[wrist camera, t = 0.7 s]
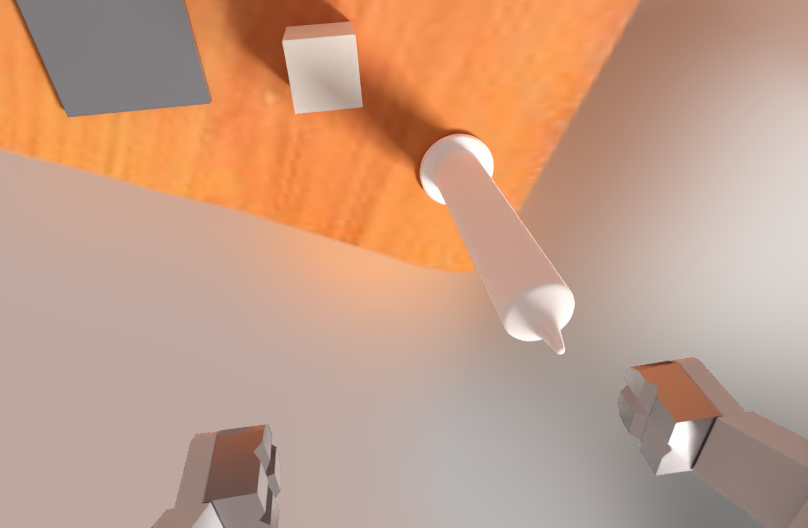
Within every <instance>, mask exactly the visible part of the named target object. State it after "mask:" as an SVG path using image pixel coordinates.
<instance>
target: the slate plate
mask: <svg viewBox="0 0 808 528" xmlns="http://www.w3.org/2000/svg"><path fill="white" fill-rule="evenodd" d="M16 1H17V4H18V6H19V8H20V10H21V13H22V15H23V17H24V19H25V22H26V24H27V26H28V28H29V31H30V33H31V35H32V37H33V40H34V42H35V44H36V46H37V49H38V51H39V53H40V55H41V58H42V60H43V62H44V64H45V67H46V69H47V71H48V73H49V76H50V78H51V80H52V82H53V85H54V87H55V89H56V91H57V94H58V96H59V98H60V100H61V103H62V105H63V107H64V109H65V112H66V114H67V116H68V117H75V116H85V115H96V114H106V113H116V112H127V111H137V110H147V109H158V108H168V107H178V106H189V105H199V104H209V103H211V102H212V98H211V95H210V91H209V87H208V84H207V80H206V76H205V73H204V69H203V65H202V62H201V58H200V54H199V51H198V47H197V43H196V40H195V36H194V32H193V29H192V25H191V21H190V18H189V14H188V10H187V7H186V3H185V0H16Z"/></svg>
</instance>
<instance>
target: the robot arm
mask: <svg viewBox="0 0 808 528" xmlns="http://www.w3.org/2000/svg"><path fill="white" fill-rule="evenodd" d="M624 380H625V381H626V383H627V384H628V385H627V386H626V387H625V388H624V389H623V390H622V391H621V392H620V394H619V399H618V407H619V414H620V416H621V419H622V422H623V423H624V425H625V427H626V429H627V430H628V432H629V433H630V434H632V435H634V436H635V437H637V438H639V439H640V447H639V450H640V451H641V453H642V455H643V456H644V458H645V459H646V461H647V463H648V464H649V466H650V467H651V469H652V470H653V472H654V474H655V475H662V474H668V473H675V472H682V471H689V470H693V471H692V472H693V473H694V474H695V475H697V476H698V477H699V478H701V479H702V480H703V481H705V482H706V483H707V484H709V485H710V486H711V487H713V488H714V489H716V490H717V491H718V492H719V493H721V494H722V495H723V496H725V497H726V498H727V499H729V500H730V501H732V502H733V503H734V504H735V505H737V506H738V507H739V508H741V509H742V510H744V511H745V512H746V513H748V514H749V515H750V516H751V517H753V518H754V519H755V520H757V521H758V522H760V523H761V524H762V525H764V526H765V527H766V528H808V440H807V439H806V438H804V437H802V436H800V435H798V434H796V433H794V432H792V431H790V430H788V429H786V428H784V427H782V426H780V425H778V424H776V423H774V422H772V421H770V420H768V419H766V418H764V417H762V416H760V415H758V414H756V413H754V412H745V410H744V409H743V408H742V407H741V406H740V405H739V404H738V403H737V402H736V400H735V399H734V398H733V397H732V396H731V395H730V394H729V393H728V391H727V390H726V389H725V388H724V387H723V386H722V385H721V384H720V383H719V381H718V380H717V379H716V378H715V377H714V376H713V375H712V374H711V373H710V371H709V370H708V369H707V368H706V367H705V366H704V365H703V364H702V362H701V361H699V360H698V359H696V358H694V357H692V358H685V359H679V360H673V361H663V362H658V363H652V364H646V365H640V366H634V367H630V368H629V369H628V370H627V371H626V373H625V376H624ZM271 441H272V432H271V430H270V427H269V425H259V426H252V427H244V428H236V429H228V430H221V431H214V432H207V433H200V434H195V436H194V437H193V439H192V441H191V443H190V447H189V451H188V455H187V459H186V463H185V467H184V471H183V475H182V479H181V483H180V487H179V492H178V495H177V500H176V503H175V508H172V509H167V510H166V511H165V512H164V514H163V515H162V516H161V517H160V518H159V519H158V521H157V522H156V523H155V524H154V525H153V526H152V527H151V528H278V520H279V509H278V506H277V503H276V501H275V498H276V496H277V495H278V493H279V492H280V490H281V466H280V459H279V454H278V451H277V447H276V446H274V445H272V444H271Z"/></svg>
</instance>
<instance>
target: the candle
mask: <svg viewBox="0 0 808 528" xmlns="http://www.w3.org/2000/svg"><path fill="white" fill-rule="evenodd" d="M492 174H493V158H492V155H491V153H490V151H489V149H488V148H487V146H486V145H485V144H484V143H483V142H482V141H481V140H479V139H478V138H476V137H474V136H471V135H468V134H452V135H449V136H446V137H443V138H441V139H440V140H438V141H436V142H435V143H434V144H433V145H432V146H431V147H430V148H429V149H428V150H427V152H426V153H425V155H424V157H423V159H422V161H421V165H420V180H421V184H422V186H423V188H424V190H425V192H426V193H427V194H428V195H429V196H430V197H431V198H432V199H433V200H435V201H437V202H439V203H441V204H445V205H447V208H448V210H449V212H450V214H451V216H452V218H453V220H454V222H455V225H456V227H457V229H458V231H459V233H460V235H461V237H462V240H463V242H464V244H465V246H466V248H467V250H468V252H469V254H470V257H471V259H472V261H473V263H474V265H475V267H476V269H477V271H478V274H479V276H480V277H481V280H482V282H483V284H484V286H485V288H486V291H487V293H488V295H489V297H490V299H491V301H492V303H493V306H494V307H495V310H496V312H497V314H498V316H499V318H500V320H501V323H502V325H503V327H504V328H505V330H506V331H507V332H508V333H509V334H510V335H511V336H513V337H514V338H517V339H520V340H524V341H536V340H541V339H543V340H544V341H545V342H546V343H547V344H548V345H549V346H550V347H551V348H552V349H553V350H554V351H555V352H556V353H557V354H563V353H564V352H565V347H564V343H563V339H562V335H561V331H560V330H561V329H562V328H563V327H564V326H565V325H566V324H567V323H568V321H569V320H570V318H571V316H572V314H573V311H574V306H575V302H574V297H573V294H572V292H571V291H570V289H569V288H568V286H567V285H566V284H565V282H564V281H563V279H562V278H561V277H560V275H559V274H558V272H557V271H556V269H555V268H554V267H553V265H552V264H551V262H550V261H549V259H548V258H547V257H546V255H545V254H544V253H543V251H542V250H541V248H540V247H539V245H538V244H537V242H536V241H535V239H534V238H533V237H532V235H531V234H530V232H529V231H528V230H527V228H526V227H525V225H524V224H523V223H522V221H521V220H520V218H519V217H518V215H517V214H516V212H515V211H514V209H513V208H512V207H511V205H510V204H509V202H508V201H507V199H506V198H505V197H504V195H503V194H502V192H501V191H500V189H499V188H498V187H497V185H496V184H495V182H494V181H493V179H492Z"/></svg>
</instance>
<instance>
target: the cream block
mask: <svg viewBox="0 0 808 528" xmlns="http://www.w3.org/2000/svg"><path fill="white" fill-rule="evenodd" d="M282 43H283V48H284V54H285V59H286V65H287V70H288V76H289V82H290V87H291V93H292V98H293V104H294V109H295V114H299V113H309V112H319V111H329V110H339V109H350V108H360V107H363V104H362V94H361V84H360V74H359V64H358V55H357V45H356V35H355V32H354V29H353V27H352V24H351V21H349V22H337V23H325V24H313V25H301V26H289V27H286V30H285V33H284V36H283V40H282Z"/></svg>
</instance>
